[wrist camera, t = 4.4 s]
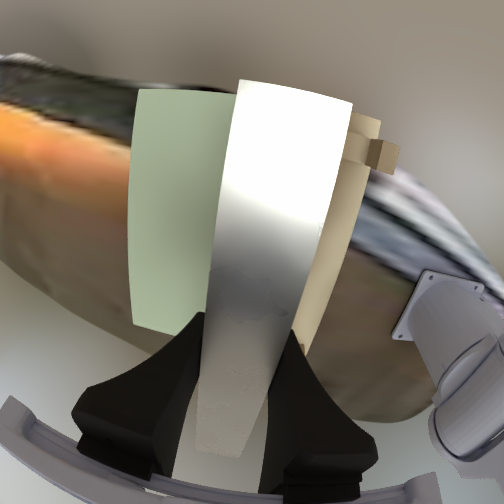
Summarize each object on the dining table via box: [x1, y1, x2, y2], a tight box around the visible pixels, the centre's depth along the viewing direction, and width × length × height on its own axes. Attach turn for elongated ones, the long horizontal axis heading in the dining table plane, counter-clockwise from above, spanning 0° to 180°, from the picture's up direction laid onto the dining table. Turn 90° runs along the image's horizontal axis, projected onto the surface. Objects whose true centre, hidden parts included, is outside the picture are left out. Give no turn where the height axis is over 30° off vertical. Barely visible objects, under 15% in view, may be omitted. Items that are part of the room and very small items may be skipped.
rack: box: [291, 111, 400, 356], centre depth 19 cm, size 7×23×6 cm, turn 170°
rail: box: [195, 80, 352, 458], centre depth 12 cm, size 20×3×3 cm, turn 170°
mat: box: [128, 89, 237, 336], centre depth 22 cm, size 8×22×1 cm, turn 170°
